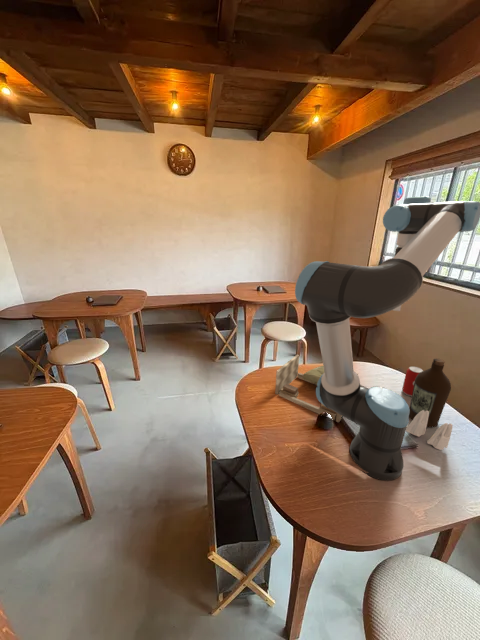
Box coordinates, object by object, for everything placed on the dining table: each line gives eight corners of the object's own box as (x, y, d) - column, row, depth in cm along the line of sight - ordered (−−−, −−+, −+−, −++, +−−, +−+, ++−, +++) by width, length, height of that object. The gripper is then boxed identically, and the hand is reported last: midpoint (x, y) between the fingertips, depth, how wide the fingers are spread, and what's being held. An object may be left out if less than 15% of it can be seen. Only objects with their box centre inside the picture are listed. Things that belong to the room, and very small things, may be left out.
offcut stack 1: (295, 400, 112) (295, 391, 110) (280, 394, 116) (281, 385, 114) (298, 396, 114) (299, 388, 112) (283, 390, 118) (284, 382, 116)
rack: (338, 422, 99) (343, 395, 95) (275, 395, 114) (276, 370, 110) (353, 398, 113) (358, 373, 109) (295, 376, 128) (296, 354, 124)
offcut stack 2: (337, 419, 101) (338, 409, 99) (319, 411, 105) (320, 402, 103) (339, 415, 103) (341, 405, 101) (322, 407, 107) (323, 398, 105)
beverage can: (415, 399, 112) (421, 374, 108) (399, 392, 116) (405, 368, 112) (420, 394, 116) (427, 369, 112) (404, 387, 120) (410, 364, 116)
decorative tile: (303, 370, 118) (322, 359, 133) (301, 382, 120) (320, 370, 134) (345, 387, 106) (361, 373, 121) (342, 400, 108) (358, 384, 123)
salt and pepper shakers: (403, 434, 93) (410, 408, 90) (406, 428, 96) (413, 402, 92) (445, 453, 85) (454, 425, 82) (447, 446, 88) (456, 419, 84)
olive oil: (416, 406, 107) (432, 351, 99) (445, 423, 98) (465, 363, 90) (400, 414, 103) (414, 356, 94) (428, 432, 94) (447, 370, 86)
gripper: (419, 251, 80) (406, 317, 88) (424, 241, 98) (413, 296, 106) (390, 251, 84) (381, 313, 92) (400, 241, 102) (391, 294, 110)
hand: (398, 304), depth 99 cm, fingers open, 13 cm apart
